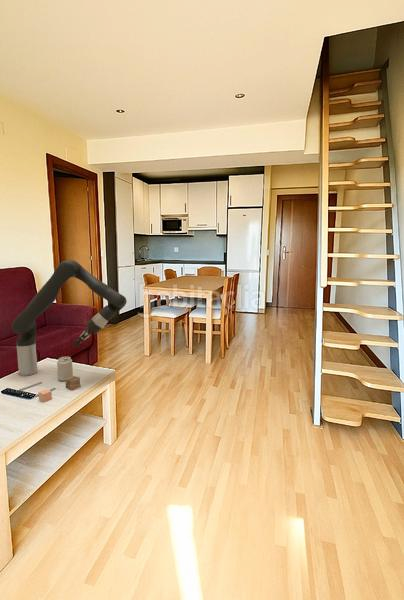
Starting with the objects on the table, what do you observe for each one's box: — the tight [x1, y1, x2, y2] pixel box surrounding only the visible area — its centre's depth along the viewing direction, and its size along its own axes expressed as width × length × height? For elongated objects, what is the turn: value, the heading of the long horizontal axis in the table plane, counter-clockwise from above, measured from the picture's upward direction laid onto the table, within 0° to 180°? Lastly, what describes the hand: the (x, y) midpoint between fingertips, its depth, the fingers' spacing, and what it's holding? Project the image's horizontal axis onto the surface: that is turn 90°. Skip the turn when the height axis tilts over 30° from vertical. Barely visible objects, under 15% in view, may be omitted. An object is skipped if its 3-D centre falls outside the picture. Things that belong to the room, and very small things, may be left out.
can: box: [56, 356, 74, 382], centre depth 164 cm, size 8×8×12 cm
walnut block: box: [64, 375, 81, 391], centre depth 155 cm, size 5×5×5 cm
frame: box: [18, 381, 57, 399], centre depth 152 cm, size 14×12×1 cm
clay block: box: [37, 388, 53, 403], centre depth 142 cm, size 4×4×4 cm
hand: (75, 345), depth 159 cm, fingers open, 8 cm apart
